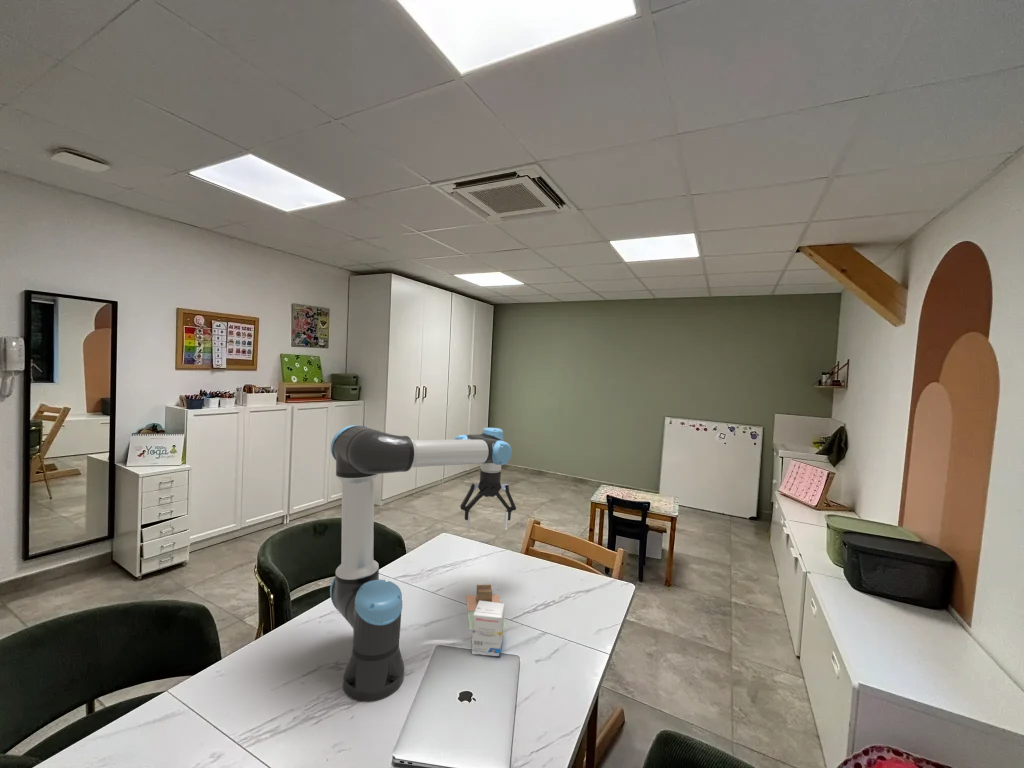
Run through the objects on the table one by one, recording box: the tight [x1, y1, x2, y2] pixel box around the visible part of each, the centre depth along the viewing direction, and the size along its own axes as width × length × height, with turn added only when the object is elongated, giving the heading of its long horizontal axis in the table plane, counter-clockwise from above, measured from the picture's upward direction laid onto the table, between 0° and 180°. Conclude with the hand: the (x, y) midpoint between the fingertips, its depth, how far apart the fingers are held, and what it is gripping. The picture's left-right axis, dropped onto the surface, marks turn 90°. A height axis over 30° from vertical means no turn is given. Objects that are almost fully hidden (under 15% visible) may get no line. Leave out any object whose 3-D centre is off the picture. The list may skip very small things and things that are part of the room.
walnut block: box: [475, 584, 493, 604], centre depth 144 cm, size 5×5×5 cm
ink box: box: [471, 600, 506, 655], centre depth 122 cm, size 9×8×12 cm
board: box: [465, 594, 508, 631], centre depth 139 cm, size 22×14×1 cm, turn 10°
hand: (487, 529), depth 147 cm, fingers open, 13 cm apart
